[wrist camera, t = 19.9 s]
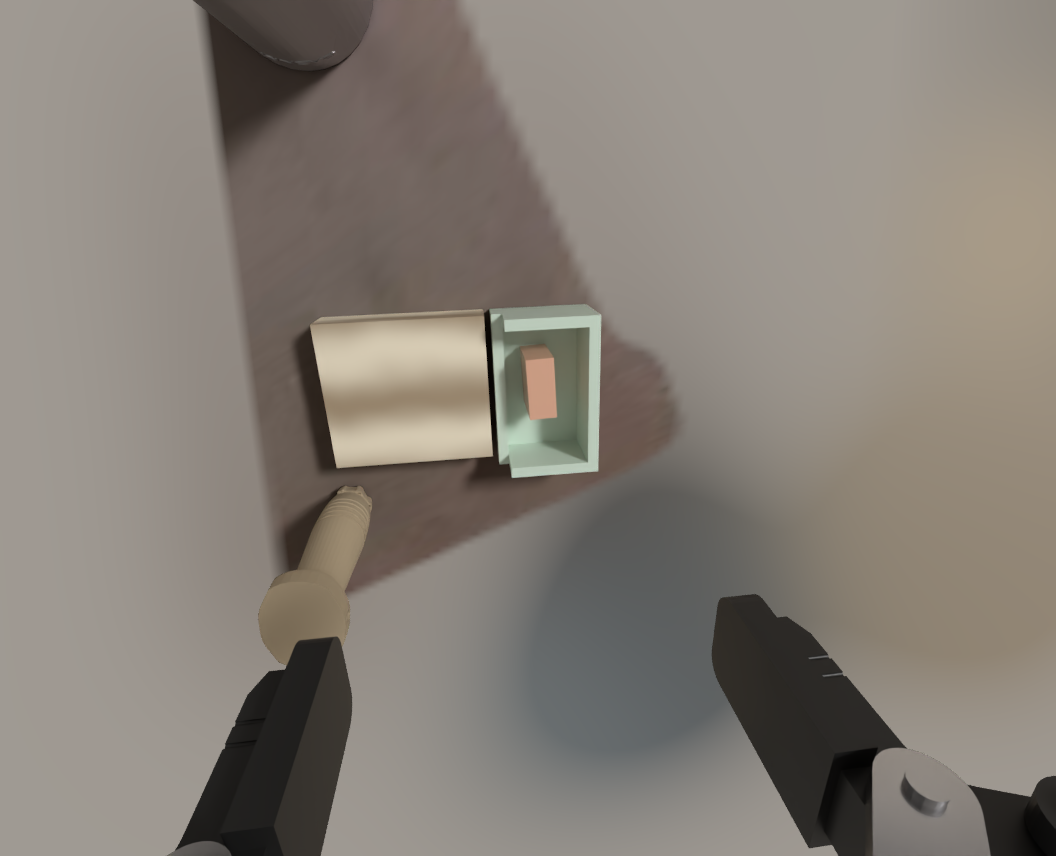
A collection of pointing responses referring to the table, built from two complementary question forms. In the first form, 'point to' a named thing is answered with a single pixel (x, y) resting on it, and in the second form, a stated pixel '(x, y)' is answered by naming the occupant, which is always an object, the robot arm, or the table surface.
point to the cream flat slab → (405, 386)
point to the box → (577, 386)
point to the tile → (538, 381)
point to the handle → (318, 578)
